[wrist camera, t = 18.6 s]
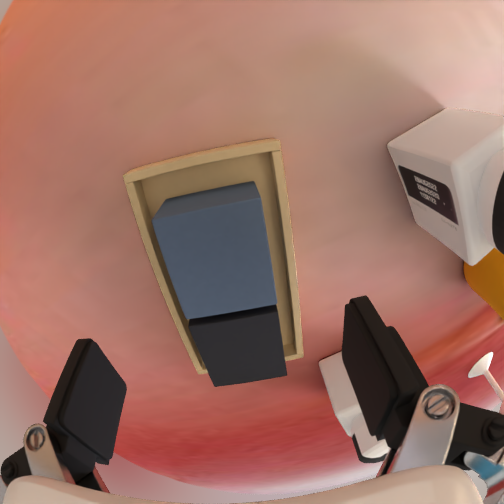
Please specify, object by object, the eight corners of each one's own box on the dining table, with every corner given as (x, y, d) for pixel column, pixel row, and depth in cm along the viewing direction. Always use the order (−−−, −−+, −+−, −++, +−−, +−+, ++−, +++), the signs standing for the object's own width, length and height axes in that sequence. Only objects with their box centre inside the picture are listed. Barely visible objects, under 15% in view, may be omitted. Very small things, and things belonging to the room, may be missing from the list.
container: (414, 224, 21) (521, 317, 10) (383, 143, 18) (531, 199, 6) (470, 183, 20) (576, 245, 8) (447, 105, 16) (579, 135, 5)
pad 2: (193, 292, 21) (187, 326, 18) (269, 278, 21) (278, 311, 18) (214, 352, 25) (214, 387, 21) (279, 342, 25) (287, 375, 21)
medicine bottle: (385, 365, 29) (424, 444, 19) (332, 390, 30) (360, 474, 20) (378, 331, 26) (429, 423, 16) (316, 360, 27) (349, 461, 17)
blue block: (165, 198, 18) (150, 219, 14) (254, 180, 18) (261, 197, 14) (191, 286, 21) (185, 320, 18) (269, 271, 21) (277, 304, 18)
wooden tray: (132, 168, 17) (122, 175, 16) (274, 137, 17) (280, 140, 15) (199, 358, 26) (198, 374, 24) (299, 341, 26) (303, 357, 24)
